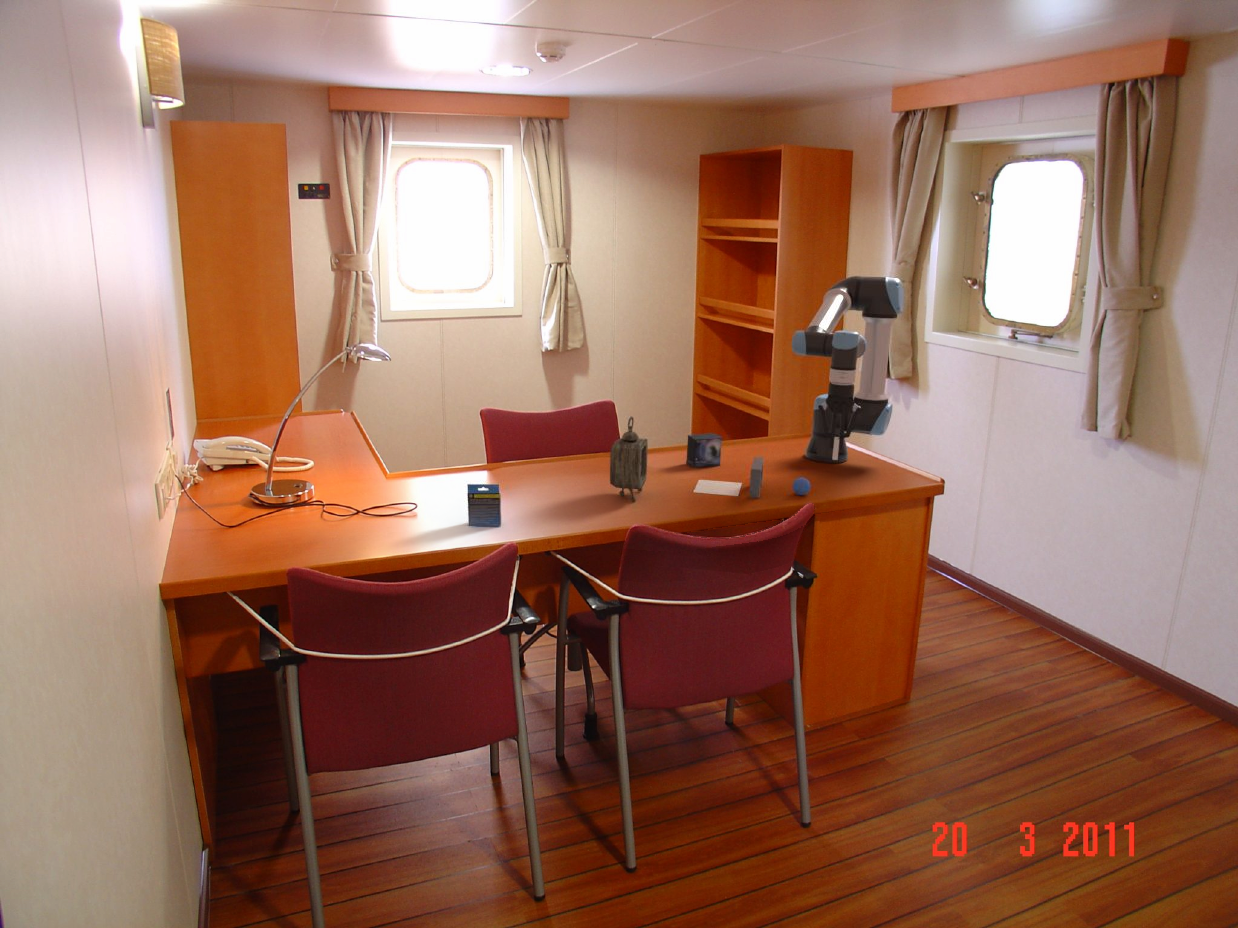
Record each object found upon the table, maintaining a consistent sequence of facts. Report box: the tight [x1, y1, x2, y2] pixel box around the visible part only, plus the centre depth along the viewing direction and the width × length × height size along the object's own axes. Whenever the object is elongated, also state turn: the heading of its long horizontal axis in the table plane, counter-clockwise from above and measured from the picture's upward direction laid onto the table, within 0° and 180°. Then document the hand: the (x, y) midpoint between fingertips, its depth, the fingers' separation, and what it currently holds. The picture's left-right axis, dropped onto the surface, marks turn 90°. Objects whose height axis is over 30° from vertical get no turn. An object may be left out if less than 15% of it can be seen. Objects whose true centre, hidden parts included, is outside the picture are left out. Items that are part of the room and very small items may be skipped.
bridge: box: [748, 456, 765, 499], centre depth 281 cm, size 3×14×9 cm, turn 168°
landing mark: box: [692, 479, 743, 497], centre depth 285 cm, size 14×14×1 cm
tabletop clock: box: [609, 416, 648, 503], centre depth 272 cm, size 14×9×25 cm, turn 168°
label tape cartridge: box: [466, 483, 502, 527], centre depth 246 cm, size 9×4×12 cm, turn 92°
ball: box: [792, 477, 811, 496], centre depth 279 cm, size 6×6×6 cm
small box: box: [685, 432, 723, 469], centre depth 310 cm, size 11×6×10 cm, turn 112°
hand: (834, 458), depth 274 cm, fingers closed
